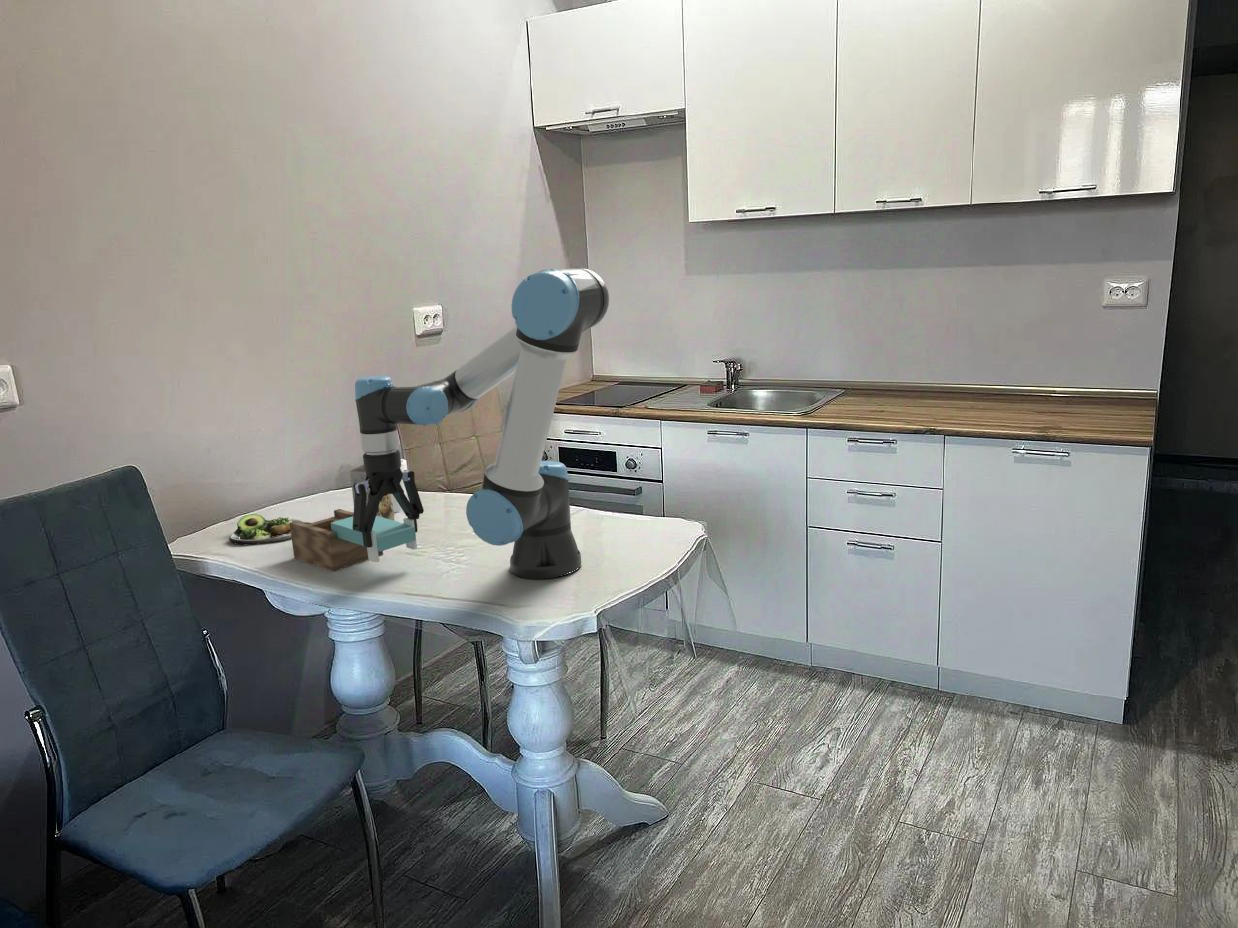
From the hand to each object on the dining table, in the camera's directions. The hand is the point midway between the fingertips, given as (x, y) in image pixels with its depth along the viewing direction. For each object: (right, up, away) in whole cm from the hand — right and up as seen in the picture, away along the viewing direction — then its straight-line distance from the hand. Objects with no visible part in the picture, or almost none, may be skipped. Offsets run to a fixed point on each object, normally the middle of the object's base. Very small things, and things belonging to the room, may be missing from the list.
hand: (393, 554), depth 198 cm
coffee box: (-13, +3, +35) cm, 37 cm away
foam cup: (-12, +7, +51) cm, 53 cm away
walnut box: (-16, -2, +15) cm, 22 cm away
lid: (-5, +3, +4) cm, 7 cm away
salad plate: (-40, +1, +35) cm, 54 cm away
